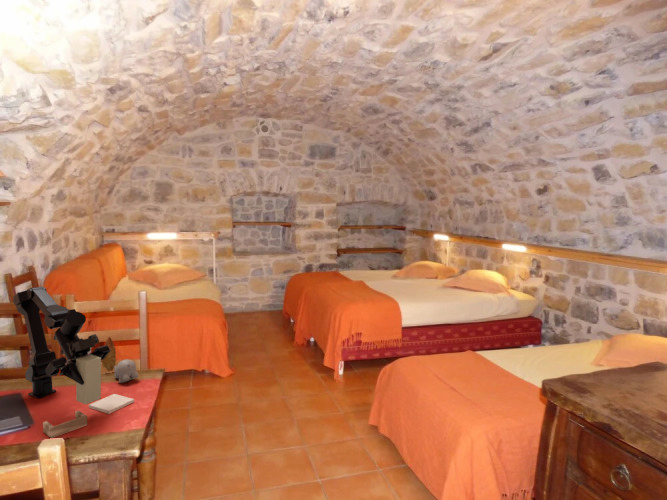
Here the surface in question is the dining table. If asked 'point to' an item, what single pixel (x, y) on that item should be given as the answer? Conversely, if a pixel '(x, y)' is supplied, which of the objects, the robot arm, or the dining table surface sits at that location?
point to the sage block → (89, 379)
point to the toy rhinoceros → (125, 371)
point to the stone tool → (110, 356)
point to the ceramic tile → (111, 403)
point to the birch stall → (65, 425)
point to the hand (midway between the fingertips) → (91, 381)
